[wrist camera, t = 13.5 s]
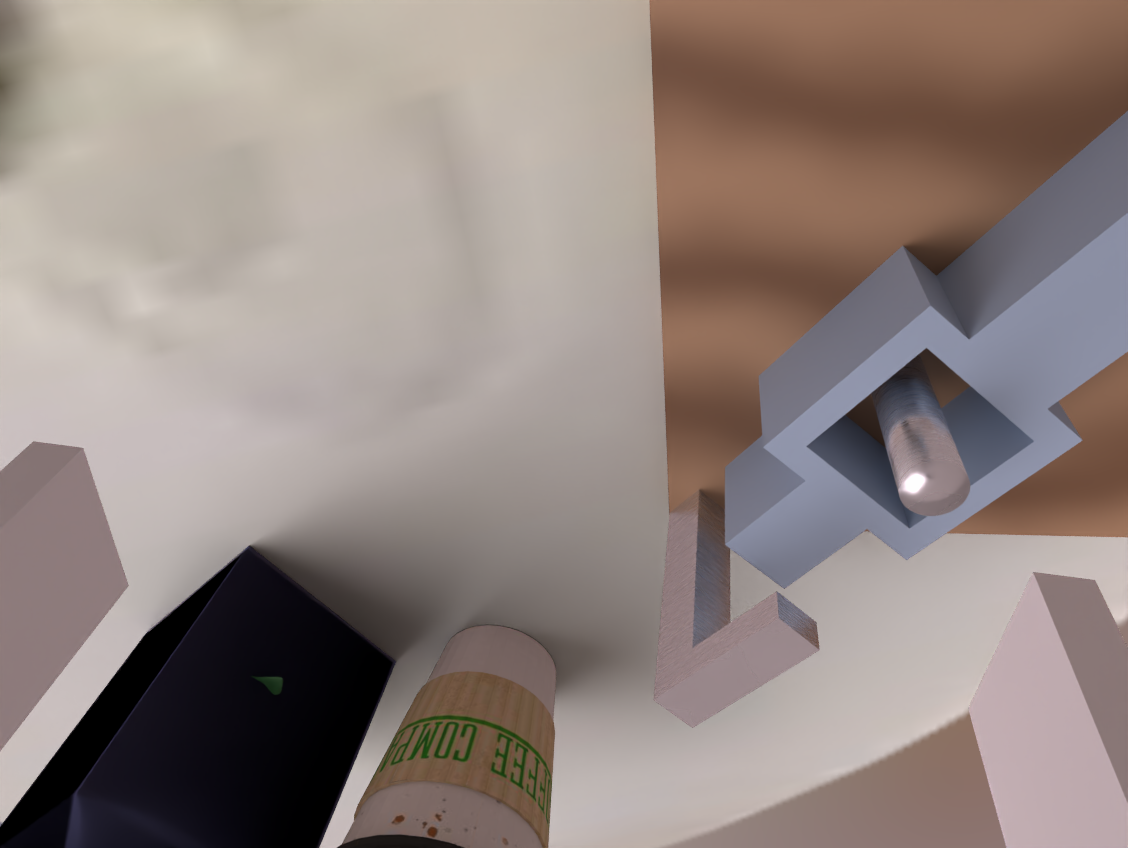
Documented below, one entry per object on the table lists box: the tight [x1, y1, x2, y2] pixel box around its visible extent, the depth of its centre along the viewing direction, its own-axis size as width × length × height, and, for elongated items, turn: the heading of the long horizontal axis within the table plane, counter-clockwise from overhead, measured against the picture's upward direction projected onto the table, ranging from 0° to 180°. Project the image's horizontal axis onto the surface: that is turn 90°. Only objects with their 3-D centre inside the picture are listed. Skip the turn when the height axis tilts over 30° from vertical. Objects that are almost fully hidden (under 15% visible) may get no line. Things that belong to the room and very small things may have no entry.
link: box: [725, 111, 1128, 589], centre depth 30 cm, size 21×7×5 cm, turn 142°
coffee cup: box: [337, 625, 556, 848], centre depth 41 cm, size 10×10×15 cm
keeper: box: [654, 489, 819, 728], centre depth 33 cm, size 6×2×12 cm, turn 140°
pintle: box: [871, 354, 970, 516], centre depth 30 cm, size 2×2×10 cm
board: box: [650, 0, 1128, 537], centre depth 32 cm, size 22×19×2 cm
